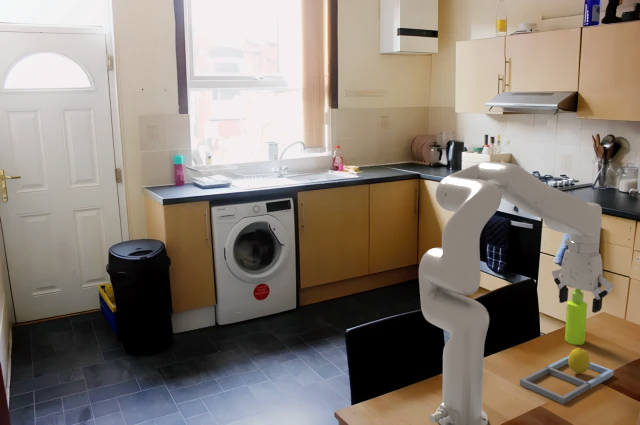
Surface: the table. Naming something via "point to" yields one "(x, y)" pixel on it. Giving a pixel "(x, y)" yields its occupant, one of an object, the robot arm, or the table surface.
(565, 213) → the robot arm
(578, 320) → the soap dispenser
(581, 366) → the lemon
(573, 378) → the grey divided frame
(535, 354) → the table surface
